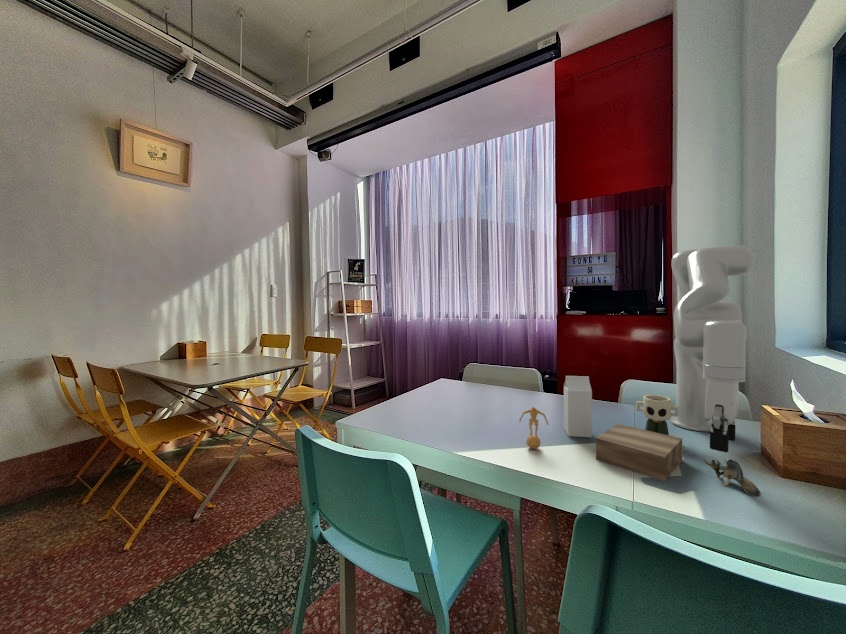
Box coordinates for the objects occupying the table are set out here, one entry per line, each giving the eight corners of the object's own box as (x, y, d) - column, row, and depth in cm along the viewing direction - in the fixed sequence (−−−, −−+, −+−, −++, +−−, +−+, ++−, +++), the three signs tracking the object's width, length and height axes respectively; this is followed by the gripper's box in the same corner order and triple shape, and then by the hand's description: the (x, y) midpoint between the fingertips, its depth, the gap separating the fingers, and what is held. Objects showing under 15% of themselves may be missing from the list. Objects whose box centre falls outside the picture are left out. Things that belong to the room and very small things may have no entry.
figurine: (518, 449, 102) (518, 409, 101) (520, 441, 107) (520, 403, 107) (548, 453, 99) (548, 412, 98) (548, 444, 104) (548, 406, 104)
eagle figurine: (697, 474, 83) (738, 487, 74) (706, 447, 85) (747, 456, 76) (721, 489, 84) (765, 503, 75) (729, 461, 85) (773, 472, 77)
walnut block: (617, 442, 105) (618, 423, 104) (682, 460, 93) (682, 438, 92) (595, 459, 94) (595, 438, 94) (664, 481, 82) (665, 457, 82)
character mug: (635, 438, 108) (635, 397, 107) (637, 431, 113) (637, 392, 113) (678, 446, 101) (678, 403, 101) (678, 438, 107) (678, 397, 106)
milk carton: (592, 438, 109) (592, 378, 108) (568, 436, 110) (568, 378, 110) (586, 429, 116) (586, 374, 115) (563, 428, 117) (563, 373, 117)
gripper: (710, 366, 89) (709, 431, 90) (695, 375, 78) (694, 450, 78) (750, 370, 84) (749, 439, 84) (739, 380, 72) (738, 460, 73)
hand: (722, 444), depth 81 cm, fingers open, 9 cm apart
